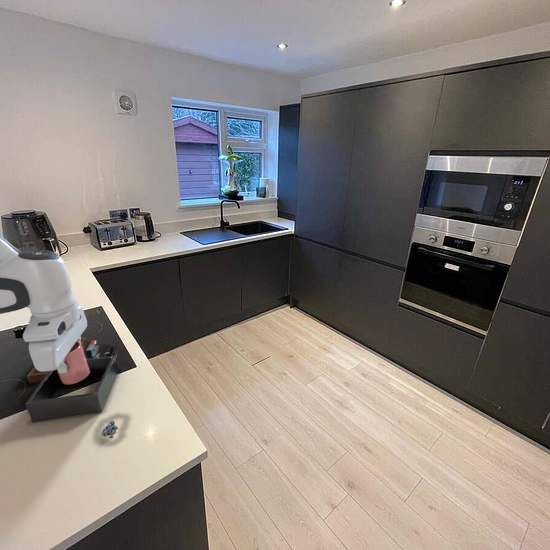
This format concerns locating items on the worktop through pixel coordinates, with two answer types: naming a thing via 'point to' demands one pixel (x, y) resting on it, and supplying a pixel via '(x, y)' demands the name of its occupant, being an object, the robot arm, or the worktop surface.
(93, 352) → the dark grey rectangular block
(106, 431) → the blueberries
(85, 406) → the dark grey open box
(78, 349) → the cup
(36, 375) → the wooden divided tray
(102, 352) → the tap panel
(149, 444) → the worktop surface
